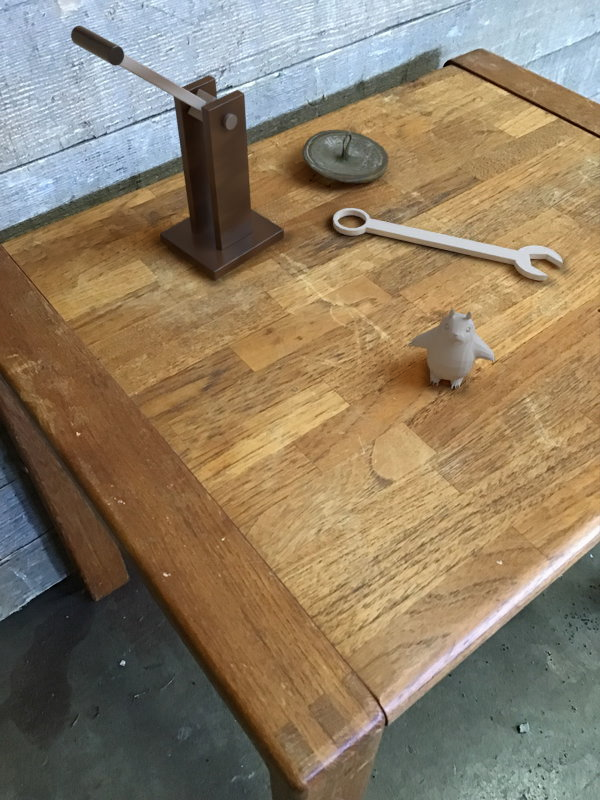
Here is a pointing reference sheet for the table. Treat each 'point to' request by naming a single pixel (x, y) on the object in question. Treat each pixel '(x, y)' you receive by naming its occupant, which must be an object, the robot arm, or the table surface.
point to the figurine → (452, 348)
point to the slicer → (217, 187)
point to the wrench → (453, 243)
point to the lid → (345, 156)
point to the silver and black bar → (138, 68)
